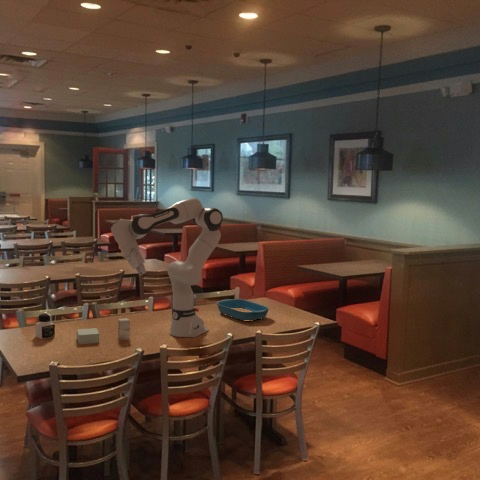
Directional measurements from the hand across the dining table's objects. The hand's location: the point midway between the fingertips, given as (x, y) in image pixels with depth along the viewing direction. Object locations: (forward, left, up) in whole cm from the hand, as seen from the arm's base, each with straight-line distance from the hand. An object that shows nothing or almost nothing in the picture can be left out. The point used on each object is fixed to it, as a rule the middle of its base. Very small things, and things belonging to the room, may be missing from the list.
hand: (143, 274), depth 270 cm
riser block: (+18, -21, -36) cm, 45 cm away
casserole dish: (-78, +3, -36) cm, 86 cm away
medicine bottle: (+30, -41, -36) cm, 62 cm away
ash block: (+3, -11, -35) cm, 37 cm away
